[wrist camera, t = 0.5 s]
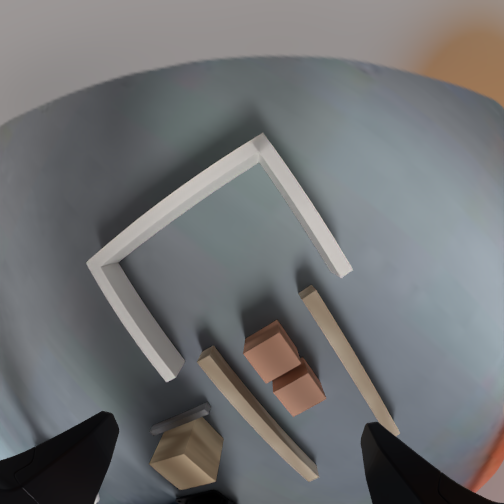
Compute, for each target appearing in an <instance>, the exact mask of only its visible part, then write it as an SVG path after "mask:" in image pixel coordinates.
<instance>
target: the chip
mask: <svg viewBox="0 0 504 504" xmlns="http://www.w3.org/2000/svg"><path fill="white" fill-rule="evenodd" d="M243 354H244V355H245V357H246V358H247V359H248V361H249V362H250V363H251V365H252V366H253V367H254V369H255V370H256V371H257V372H258V374H259V375H260V376H261V378H262V379H263V380H264V381H265V383H268V382H270V381H272V380H274V379H275V378H277V377H279V376H281V375H283V374H284V373H286V372H288V371H290V370H291V369H293V368H295V367H297V366H298V365H300V364H301V361H300V357H299V354H298V351H297V348H296V346H295V345H294V343H293V342H292V340H291V339H290V338H289V336H288V335H287V333H286V332H285V330H284V329H283V327H282V326H281V324H280V323H279V322H278V320H276V321H274V322H272V323H271V324H269V325H268V326H266V327H264V328H263V329H261V330H259V331H258V332H256V333H254V334H253V335H251V336H249V337H248V338H246V339H245V345H244V352H243Z"/></svg>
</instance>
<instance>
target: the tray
mask: <svg viewBox="0 0 504 504" xmlns="http://www.w3.org/2000/svg"><path fill="white" fill-rule="evenodd" d="M257 163H260V164H261V166H262V167H263V169H264V170H265V172H266V173H267V174H268V176H269V177H270V179H271V180H272V182H273V183H274V185H275V186H276V188H277V189H278V190H279V192H280V193H281V195H282V196H283V198H284V199H285V201H286V202H287V204H288V205H289V207H290V208H291V210H292V211H293V213H294V215H295V216H296V218H297V219H298V221H299V222H300V224H301V225H302V227H303V228H304V230H305V232H306V233H307V235H308V236H309V238H310V239H311V241H312V243H313V244H314V246H315V247H316V249H317V250H318V252H319V254H320V255H321V257H322V259H323V260H324V262H325V263H326V265H327V267H328V268H329V270H330V272H332V273H333V274H335V275H337V276H338V277H340V278H342V277H343V276H345V275H346V274H348V273H349V272H351V271H352V270H353V269H352V267H351V266H350V264H349V262H348V260H347V259H346V257H345V255H344V254H343V252H342V250H341V249H340V247H339V245H338V244H337V242H336V240H335V239H334V237H333V235H332V234H331V232H330V231H329V229H328V227H327V226H326V224H325V223H324V221H323V219H322V218H321V216H320V215H319V213H318V212H317V210H316V209H315V207H314V205H313V204H312V202H311V201H310V199H309V198H308V196H307V195H306V193H305V192H304V190H303V189H302V187H301V186H300V184H299V183H298V181H297V180H296V178H295V177H294V175H293V174H292V173H291V171H290V170H289V168H288V167H287V165H286V164H285V162H284V161H283V160H282V158H281V157H280V155H279V154H278V153H277V151H276V150H275V148H274V147H273V146H272V144H271V143H270V142H269V140H268V139H267V137H266V136H265V135H264V133H262V134H260V135H258V136H257V137H255V138H253V139H252V140H250V141H248V142H247V143H245V144H244V145H242V146H240V147H239V148H237V149H236V150H234V151H233V152H231V153H229V154H228V155H226V156H225V157H223V158H222V159H220V160H219V161H217V162H216V163H214V164H213V165H211V166H210V167H208V168H207V169H205V170H204V171H202V172H201V173H200V174H198V175H197V176H195V177H194V178H192V179H191V180H189V181H188V182H187V183H185V184H184V185H182V186H181V187H180V188H178V189H177V190H175V191H174V192H173V193H171V194H170V195H169V196H167V197H166V198H165V199H163V200H162V201H161V202H159V203H158V204H157V205H155V206H154V207H153V208H151V209H150V210H149V211H147V212H146V213H145V214H144V215H142V216H141V217H140V218H138V219H137V220H136V221H135V222H133V223H132V224H131V225H130V226H128V227H127V228H126V229H125V230H124V231H122V232H121V233H120V234H119V235H117V236H116V237H115V238H114V239H113V240H111V241H110V242H109V243H108V244H107V245H106V246H104V247H103V248H102V249H101V250H100V251H99V252H97V253H96V254H95V255H94V256H93V257H92V258H91V259H89V260H88V261H87V262H86V264H87V266H88V268H89V269H90V271H91V273H92V275H93V276H94V278H95V280H96V282H97V283H98V285H99V287H100V288H101V290H102V292H103V293H104V295H105V297H106V298H107V300H108V302H109V303H110V305H111V306H112V308H113V309H114V311H115V313H116V314H117V316H118V317H119V319H120V320H121V322H122V323H123V325H124V326H125V328H126V329H127V330H128V332H129V333H130V335H131V336H132V338H133V339H134V340H135V342H136V343H137V345H138V346H139V347H140V349H141V350H142V352H143V353H144V354H145V356H146V357H147V358H148V360H149V361H150V362H151V363H152V365H153V366H154V367H155V369H156V370H157V371H158V372H159V374H160V375H161V376H162V377H163V379H164V380H165V381H166V382H168V381H170V380H172V379H174V378H176V377H177V375H178V373H179V371H180V370H181V368H182V366H183V364H184V363H185V360H184V359H183V357H182V356H181V355H180V353H179V352H178V351H177V349H176V348H175V347H174V345H173V344H172V343H171V341H170V340H169V339H168V337H167V336H166V335H165V333H164V332H163V330H162V329H161V328H160V326H159V325H158V323H157V322H156V320H155V319H154V318H153V316H152V315H151V313H150V312H149V310H148V309H147V307H146V306H145V304H144V303H143V301H142V300H141V298H140V297H139V295H138V294H137V292H136V290H135V289H134V287H133V286H132V284H131V283H130V281H129V279H128V278H127V276H126V274H125V273H124V271H123V270H122V268H121V266H120V265H119V263H118V262H119V261H121V260H122V259H123V258H125V257H126V256H127V255H128V254H130V253H131V252H132V251H133V250H135V249H136V248H137V247H139V246H140V245H141V244H142V243H144V242H145V241H146V240H148V239H149V238H150V237H152V236H153V235H154V234H156V233H157V232H158V231H160V230H161V229H162V228H164V227H165V226H166V225H168V224H169V223H171V222H172V221H173V220H175V219H176V218H177V217H179V216H180V215H182V214H183V213H184V212H186V211H187V210H189V209H190V208H191V207H193V206H194V205H196V204H197V203H199V202H200V201H201V200H203V199H204V198H206V197H207V196H209V195H210V194H212V193H213V192H214V191H216V190H217V189H219V188H220V187H222V186H223V185H225V184H226V183H228V182H229V181H231V180H232V179H234V178H235V177H237V176H239V175H240V174H242V173H243V172H245V171H246V170H248V169H249V168H251V167H252V166H254V165H256V164H257Z"/></svg>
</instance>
